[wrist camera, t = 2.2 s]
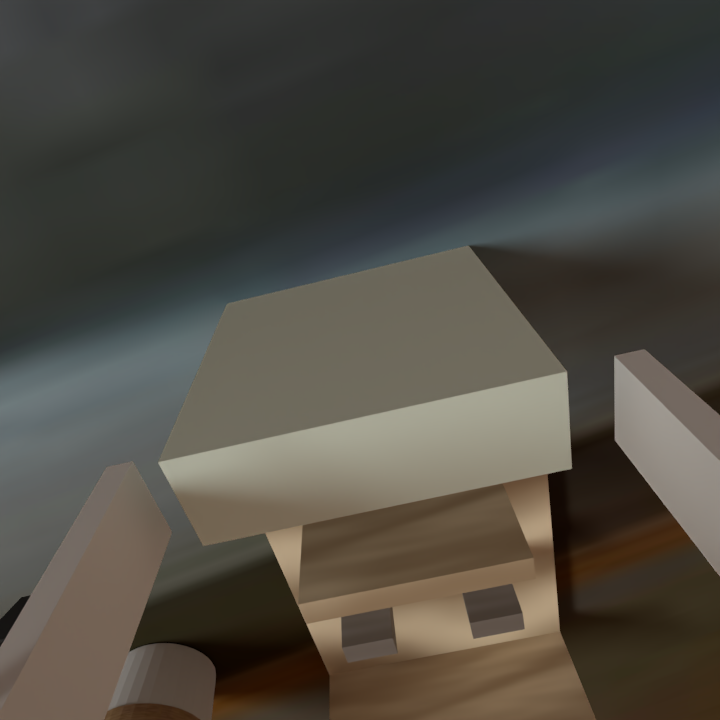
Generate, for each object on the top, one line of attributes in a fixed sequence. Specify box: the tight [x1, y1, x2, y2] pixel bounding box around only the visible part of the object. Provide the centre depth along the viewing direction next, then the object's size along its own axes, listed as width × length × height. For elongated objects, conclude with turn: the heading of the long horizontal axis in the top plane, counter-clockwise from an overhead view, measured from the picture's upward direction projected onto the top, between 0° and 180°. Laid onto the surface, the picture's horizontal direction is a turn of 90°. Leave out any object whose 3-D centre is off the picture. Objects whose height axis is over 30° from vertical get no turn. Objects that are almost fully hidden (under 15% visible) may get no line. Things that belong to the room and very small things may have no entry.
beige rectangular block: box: [158, 246, 572, 546], centre depth 18 cm, size 3×10×10 cm, turn 103°
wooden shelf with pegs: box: [266, 474, 596, 720], centre depth 27 cm, size 16×14×7 cm
